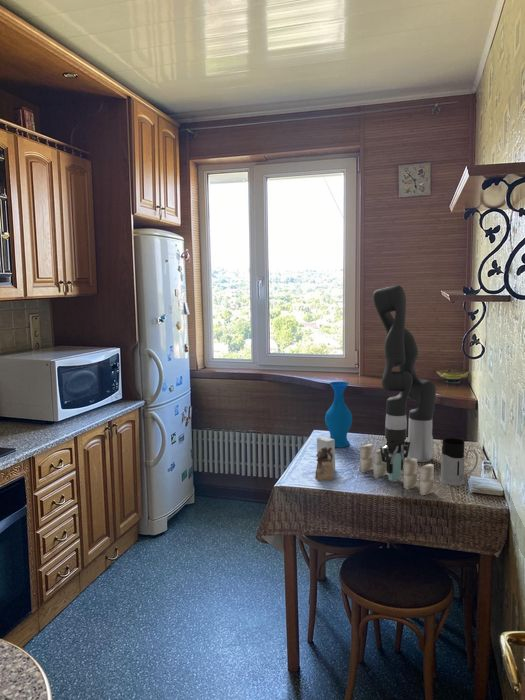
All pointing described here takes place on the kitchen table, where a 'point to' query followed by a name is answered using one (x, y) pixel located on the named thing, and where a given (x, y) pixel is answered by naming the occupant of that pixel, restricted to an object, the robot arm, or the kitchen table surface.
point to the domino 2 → (379, 464)
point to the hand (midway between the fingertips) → (394, 471)
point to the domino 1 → (366, 457)
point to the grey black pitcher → (454, 461)
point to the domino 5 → (426, 479)
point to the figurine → (324, 465)
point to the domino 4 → (410, 473)
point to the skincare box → (327, 446)
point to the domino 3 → (395, 468)
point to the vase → (339, 416)
